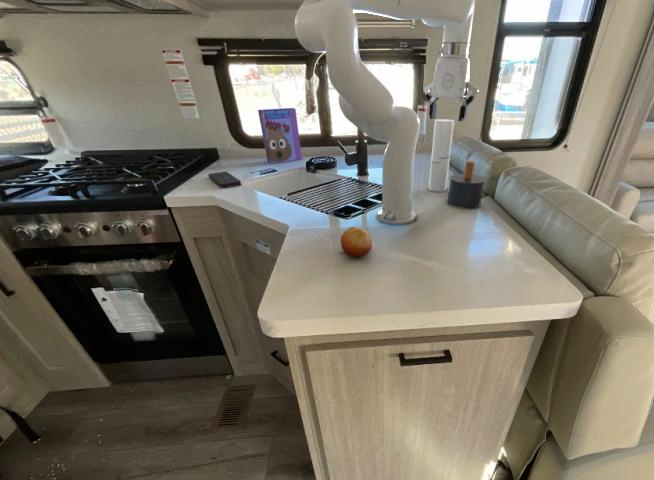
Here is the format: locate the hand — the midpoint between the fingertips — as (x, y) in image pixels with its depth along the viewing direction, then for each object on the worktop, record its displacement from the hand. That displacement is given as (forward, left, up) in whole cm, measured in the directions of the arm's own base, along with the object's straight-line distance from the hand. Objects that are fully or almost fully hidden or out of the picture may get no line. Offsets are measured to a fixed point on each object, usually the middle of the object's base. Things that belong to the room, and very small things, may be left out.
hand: (446, 119), depth 103 cm
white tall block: (+17, +7, -27) cm, 33 cm away
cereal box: (+23, +96, -27) cm, 102 cm away
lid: (+6, -8, -19) cm, 21 cm away
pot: (+5, -8, -27) cm, 29 cm away
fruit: (-49, +4, -27) cm, 56 cm away
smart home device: (-19, +91, -27) cm, 97 cm away
